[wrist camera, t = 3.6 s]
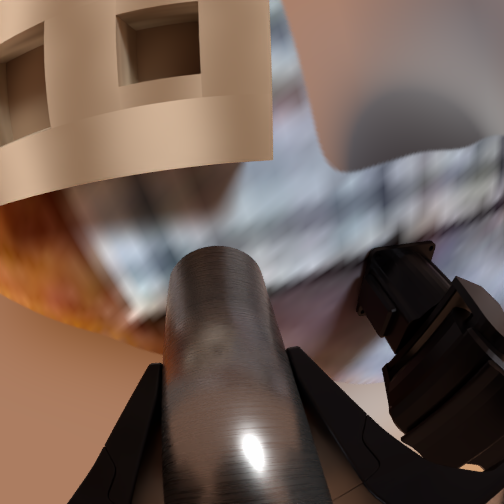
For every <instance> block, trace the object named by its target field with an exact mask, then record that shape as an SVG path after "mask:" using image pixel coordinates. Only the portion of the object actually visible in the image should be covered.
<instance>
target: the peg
mask: <svg viewBox="0 0 504 504" xmlns="http://www.w3.org/2000/svg"><path fill="white" fill-rule="evenodd" d="M161 446H162V476H163V494H164V504H333V501H332V498H331V495H330V492H329V488H328V485H327V482H326V479H325V475H324V472H323V469H322V466H321V462H320V459H319V456H318V453H317V449H316V446H315V443H314V440H313V436H312V433H311V430H310V427H309V424H308V420H307V417H306V414H305V411H304V407H303V404H302V401H301V398H300V395H299V391H298V388H297V385H296V382H295V378H294V375H293V372H292V369H291V366H290V362H289V359H288V356H287V353H286V350H285V346H284V343H283V340H282V337H281V334H280V330H279V327H278V324H277V321H276V318H275V314H274V311H273V308H272V305H271V302H270V298H269V295H268V292H267V289H266V286H265V282H264V279H263V276H262V273H261V270H260V268H259V266H258V265H257V263H256V262H255V261H254V260H253V259H252V258H251V257H250V256H249V255H247V254H246V253H244V252H242V251H240V250H238V249H235V248H231V247H226V246H210V247H204V248H201V249H197V250H195V251H193V252H191V253H189V254H187V255H186V256H184V257H183V258H182V259H181V260H180V261H179V262H178V263H177V264H176V266H175V267H174V269H173V270H172V273H171V276H170V280H169V289H168V299H167V310H166V322H165V335H164V351H163V371H162V403H161Z"/></svg>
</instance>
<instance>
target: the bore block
mask: <svg viewBox="0 0 504 504" xmlns="http://www.w3.org/2000/svg"><path fill="white" fill-rule="evenodd" d="M264 160H273V121H272V72H271V39H270V12H269V0H0V205H4V204H7V203H10V202H14V201H17V200H21V199H25V198H28V197H32V196H36V195H40V194H44V193H48V192H52V191H56V190H60V189H64V188H69V187H73V186H78V185H82V184H87V183H92V182H97V181H102V180H107V179H113V178H118V177H124V176H130V175H136V174H142V173H149V172H156V171H163V170H170V169H178V168H186V167H194V166H203V165H213V164H224V163H235V162H249V161H264Z"/></svg>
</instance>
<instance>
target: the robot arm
mask: <svg viewBox="0 0 504 504" xmlns="http://www.w3.org/2000/svg"><path fill="white" fill-rule="evenodd" d="M434 250H435V244H434V243H433V242H432V241H424V242H416V243H408V244H400V245H393V246H385V247H377V248H374V249H373V250H372V251H371V252H370V254H369V259H368V264H367V268H366V272H365V276H364V278H363V283H362V287H361V291H360V295H359V299H358V304H357V308H356V312H357V313H358V315H359V316H364V315H366V316H367V317H368V319H369V320H370V322H371V324H372V325H373V327H374V329H375V330H376V332H377V334H378V335H379V336H380V337H381V338H383V337H385V338H386V340H387V342H388V343H389V345H390V347H391V348H392V350H393V352H394V354H396V355H395V356H394V358H393V359H392V360H391V361H390V362H389V363H386V365H385V366H384V367H383V368H382V372H383V377H384V382H385V387H386V393H387V399H388V404H389V414H390V416H391V417H392V420H393V422H394V423H395V425H396V426H397V427H398V429H400V431H402V432H403V433H404V434H405V435H404V436H402V437H401V441H402V442H403V443H405V444H407V445H409V446H411V447H413V448H414V449H415V450H416V451H417V452H418V453H420V455H421V456H422V457H421V456H420V455H418V454H417V453H415V452H414V451H412V450H411V449H409V448H408V447H407V446H405V445H404V444H402V443H401V442H400V441H398V440H397V439H395V438H394V437H393V436H392V435H390V434H389V433H387V432H386V431H385V430H384V429H383V428H382V427H380V426H379V425H378V424H377V423H376V422H375V421H374V420H373V419H372V418H371V417H370V416H369V415H367V414H366V413H365V412H364V411H363V410H362V409H361V408H360V407H359V406H358V405H357V404H356V403H355V402H354V401H353V400H352V399H351V398H350V397H349V396H348V395H347V394H346V393H345V392H344V391H343V390H342V389H341V388H340V387H339V386H338V385H337V384H336V383H335V382H334V381H333V380H332V379H331V378H330V377H329V376H328V375H327V374H326V373H325V372H324V371H323V370H322V369H321V368H320V367H319V366H318V365H317V364H316V363H315V362H314V361H313V360H312V359H311V358H310V357H309V356H308V355H307V354H306V353H305V352H304V351H303V350H302V349H301V348H300V347H298V346H295V347H290V348H287V349H286V353H287V356H288V359H289V362H290V366H291V369H292V372H293V375H294V378H295V382H296V385H297V388H298V391H299V395H300V398H301V401H302V404H303V407H304V411H305V414H306V417H307V420H308V424H309V427H310V430H311V433H312V436H313V440H314V443H315V446H316V449H317V453H318V456H319V459H320V462H321V466H322V469H323V472H324V475H325V479H326V482H327V485H328V488H329V492H330V495H331V498H332V501H333V504H504V312H503V310H502V308H501V306H500V304H499V303H498V302H497V301H496V300H495V299H494V298H493V297H492V296H491V295H490V294H489V293H488V292H487V291H486V290H485V289H484V288H482V287H481V286H479V285H477V284H474V283H472V282H470V281H467V280H465V279H462V278H460V277H458V276H455V278H454V279H453V281H452V282H451V281H450V280H449V279H448V278H447V277H446V276H445V275H444V274H443V273H442V272H441V271H440V269H439V268H438V267H437V266H436V265H435V264H434V263H433V262H432V261H431V260H432V256H433V253H434ZM376 254H377V255H376ZM375 255H376V256H375ZM162 371H163V364H161V363H151V364H150V365H149V366H148V368H147V369H146V371H145V373H144V375H143V376H142V378H141V380H140V382H139V383H138V385H137V387H136V389H135V391H134V392H133V394H132V396H131V398H130V400H129V401H128V403H127V405H126V407H125V409H124V411H123V412H122V414H121V416H120V418H119V420H118V421H117V423H116V425H115V427H114V429H113V430H112V433H111V434H110V436H109V438H108V440H107V442H106V444H105V447H103V449H102V451H101V453H100V455H99V456H98V458H97V460H96V462H95V464H94V466H93V467H92V469H91V470H90V472H89V473H88V475H87V476H86V478H85V479H84V481H83V482H82V484H81V485H80V486H79V488H78V489H77V491H76V492H75V494H74V495H73V496H72V498H71V499H70V500H69V502H68V503H67V504H164V494H163V476H162V446H161V403H162ZM366 415H367V416H366ZM465 464H474V465H479V466H480V467H481V468H482V469H483V470H484V471H483V472H477V471H471V470H465V469H459V468H460V467H461V466H463V465H465Z"/></svg>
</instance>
